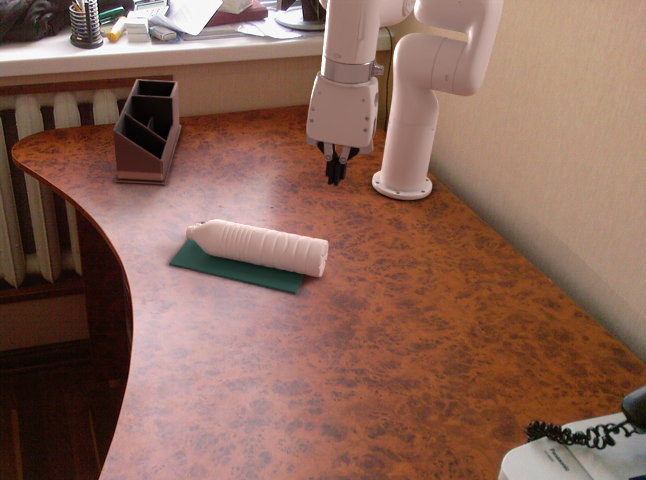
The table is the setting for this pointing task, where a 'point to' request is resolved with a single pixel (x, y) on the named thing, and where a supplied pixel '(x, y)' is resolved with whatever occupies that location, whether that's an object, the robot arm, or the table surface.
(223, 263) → the mat
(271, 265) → the water bottle
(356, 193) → the table surface
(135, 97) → the desk organizer
